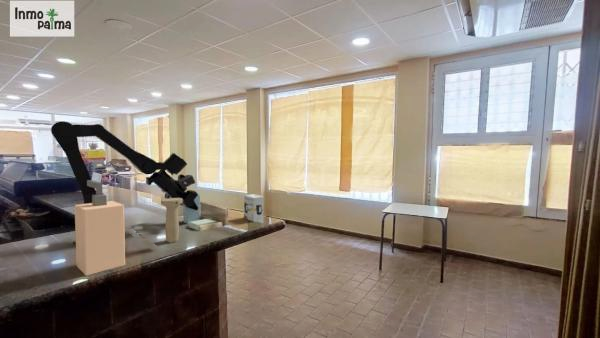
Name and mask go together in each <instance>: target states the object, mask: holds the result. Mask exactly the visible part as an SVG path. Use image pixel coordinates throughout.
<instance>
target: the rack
mask: <svg viewBox="0 0 600 338" xmlns="http://www.w3.org/2000/svg"><path fill="white" fill-rule="evenodd" d="M200 218H203V219H212V220H215V221H216V223H212V224H207V225H202V226H199V230H198V231H199V232H201V231H206V230H211V229H216V228H220V227H223V226H225V227H226V226H229V208H227V207H223V206H221V205H216V204H213V203H209V202H206V201H200ZM178 221H179V222H181V221H183V215H182V216H178Z"/></svg>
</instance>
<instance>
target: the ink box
mask: <svg viewBox="0 0 600 338" xmlns="http://www.w3.org/2000/svg"><path fill="white" fill-rule="evenodd" d="M243 219H245V220H247V221H250V222H253V223H254V222H256V223H260V224H262V223H263V224H264V196H263V195H259V194H256V193H252V194H245V195H243Z"/></svg>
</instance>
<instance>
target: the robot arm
mask: <svg viewBox="0 0 600 338" xmlns="http://www.w3.org/2000/svg"><path fill="white" fill-rule="evenodd" d="M50 132H51V134H52V136H53V137H54V139H55V141H56V142H57V144H58V145H59V146H60V148H61V149H62V151H63V153H64V154H65V156H66V159H67V161H68V163H69V165H70V168H71V170H72V172H73V175H74V177H75V181H76V182H77V185H78V187H79V190H80V192H81V195H82V202H83V204H89V203H92V195H96V188H93V187H89V186H87V180H92V178H91V176H90V174H89V171H88V168H87V166H86V163H85V161H84V158H83V156H82V152H81V151H80V147H79V141H78V140H79V139H78V138H86V137H87V138H88V137H96V138H97V139H99V140H100V141H102V142H103V143H104V144H106V145H107V146H108V147H110V148H111V149H113V150H114V151H115V152H117V153H118V154H120V155H121V156H123V157H125V158H126V160H128V161H129V163H130V164H131V165H132V166H133V167H134V168H135V169H136V170H138V171H139V172H140V173H141V174H144V175H150V176H146V177H145V184H146V185H148V186H151V185H152V184H153V183H154V185H156V186H157V187H158V188H159V189H160V191H161V192H162V193H165V194H164V199H169V198H182V199H183V203H181V204H180V205H179V206H182V207H183V206H185V207H188V208H191V209H194V210H198V207H197V205H196V203H195V201H194V199H195V198H196V197H197V196H198V194H199V193H198V192H197V191H196V190H192V189H188V187H190V186H191V185H193V184H195V183H196V180H195V178H194V176H193V175H191V174H187V175H184V174H179V173H181V171H182V170H183V169H184V168H185V167H186V166H187V165H188V163H187V162H186V161H185V159H183V158H181V157H180V156H178V154H176V153H174V152H172V153H171V154H170V155H169V156H168V157H167V158H166V159H165V160H164V161H163V162H161V161H159V162H157V161H156V160H155V159H153V158H151V157H149V156H147V155H145V154H143V153H141V152H138V151H137V150H135V149H134V148H133V147H131V146H130V145H128V144H127V143H126V142H124V141H123V140H122V139H120V138H119V137H117V136H116V135H114V133H112V132H110V131H109V130H108V129H107V128H106V127H105V126H104V125H102V124H99V123H98V124H97V123H96V124H72V123H70V122H69V121H57V122H55V123H53V124H52V126H51V128H50ZM171 175H172V176H173V175H176V176H177V175H178V176H177V180H176V179H174V178H173V177H172V176H171ZM102 194H104V193H103V192H102ZM72 244H73V245H76V240H74V241H72Z"/></svg>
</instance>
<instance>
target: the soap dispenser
mask: <svg viewBox="0 0 600 338" xmlns="http://www.w3.org/2000/svg"><path fill="white" fill-rule="evenodd" d="M87 186H89V187H93V188H95V190H96V195H92V203H89V204H84V203H81V204H74V224H75V229H74V230H75V241H76V244H75V255H76V256H75V258H76V267H77V268H78V270H80V271H81V272H82V273H83V275H84V276H89V275H93V274H97V273H100V272H105V271H108V270H113V269H115V268H119V267H123V266H126V250H125V249H126V245H125V242H126V240H125V237H126V236H125V205H124V204H122V203H120V202H117V201H115V200H110V201H109V200H107V195H106V194H104V193H103V182H100V181H96V180H92V179H91V180H87ZM102 193H103V194H102Z"/></svg>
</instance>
